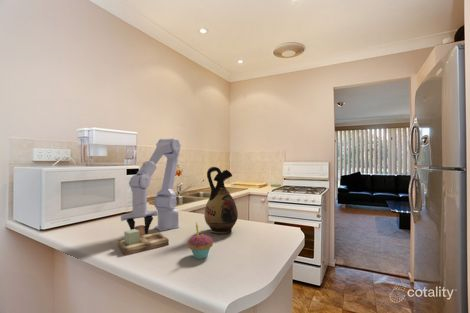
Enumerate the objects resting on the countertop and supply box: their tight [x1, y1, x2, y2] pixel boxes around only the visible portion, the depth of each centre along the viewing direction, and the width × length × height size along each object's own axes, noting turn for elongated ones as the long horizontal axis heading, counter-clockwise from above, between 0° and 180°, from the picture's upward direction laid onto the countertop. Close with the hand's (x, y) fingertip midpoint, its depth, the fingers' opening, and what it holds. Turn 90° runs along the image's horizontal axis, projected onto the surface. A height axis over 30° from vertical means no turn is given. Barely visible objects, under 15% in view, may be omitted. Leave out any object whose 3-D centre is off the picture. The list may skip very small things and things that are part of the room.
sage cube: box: [123, 229, 140, 246], centre depth 88 cm, size 4×4×5 cm
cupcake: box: [187, 222, 214, 260], centre depth 80 cm, size 9×8×12 cm
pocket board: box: [117, 231, 170, 256], centre depth 90 cm, size 16×11×2 cm
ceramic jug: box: [203, 166, 239, 235], centre depth 107 cm, size 17×15×30 cm
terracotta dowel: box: [135, 224, 146, 236], centre depth 98 cm, size 4×4×5 cm
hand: (139, 234), depth 98 cm, fingers open, 5 cm apart
